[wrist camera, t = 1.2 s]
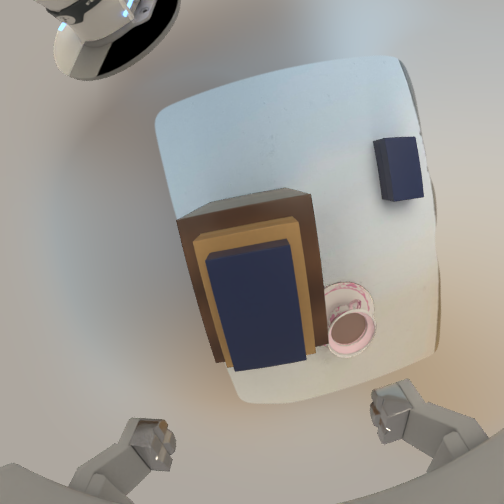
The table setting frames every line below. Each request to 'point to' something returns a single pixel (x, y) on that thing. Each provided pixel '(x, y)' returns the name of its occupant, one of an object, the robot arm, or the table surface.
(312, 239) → the book stand
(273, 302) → the navy book
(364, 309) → the teacup
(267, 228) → the tan books
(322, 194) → the table surface
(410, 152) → the navy books
